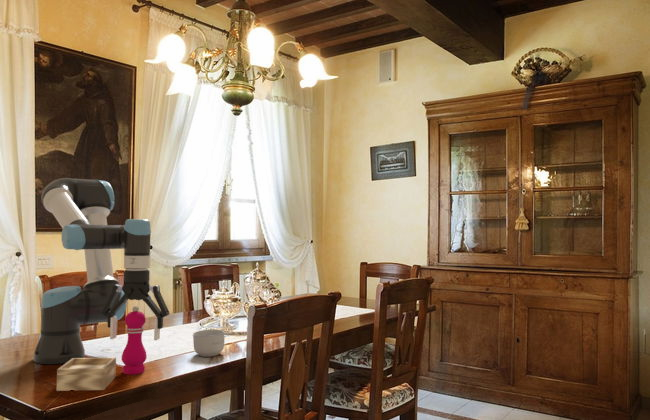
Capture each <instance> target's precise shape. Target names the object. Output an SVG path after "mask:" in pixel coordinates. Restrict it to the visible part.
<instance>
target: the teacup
mask: <svg viewBox="0 0 650 420" xmlns="http://www.w3.org/2000/svg"><path fill="white" fill-rule="evenodd" d="M192 339H193V341H192V342H193V343H192V344H193V350H194V352H195V353H196V354H197V355H199V356H200V357H203V358H204V357H205V358H208V357H209V358H210V357H211V358H212V357H216V356H218V355H219V354H220V353H221V352H222V351H223V350H224V349H225V330H223V329H215V328H211V329H203V330H198V331H195V332H193V333H192Z"/></svg>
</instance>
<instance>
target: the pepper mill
mask: <svg viewBox="0 0 650 420" xmlns="http://www.w3.org/2000/svg"><path fill="white" fill-rule="evenodd" d="M125 315H126V316H125V317H124V324H125V325H126V326H127V327H125V328H126V330H125V331H126V334H127V343H126V344H125V345H126V346H125V347H124V349H123V351H122V354H121V362H122V363H123V364H124V365H123V367H122V373H123V374H124V375H129V376H130V375H132V376H133V375H139V374H140V375H141V374H143V373H144V372H145V371H146V370H145V369H146V365H145V364H144V363H145V361H146V360H147V351H146V349H145V346H144V345H143V340H142V338H143V337H142V336H143V335H142V334H143V332H144V329H145V327H144V324H145V323H146V321H147V320H146V315H145V313H143V312H142V311H139V307H138V305H135V306H133V307H132V311H130V312H128V313H127V314H125Z"/></svg>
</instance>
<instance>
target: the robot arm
mask: <svg viewBox="0 0 650 420" xmlns="http://www.w3.org/2000/svg"><path fill="white" fill-rule="evenodd" d="M114 192H115V191H114V190H113V187H112V185H111V184H110V182H108V181H106V180H100V179H85V178H84V179H83V178H70V177H62V178H57V179H54V180H53V181H51V182H50V183H48V184H47V185H46V186H45V187H44V188H43V190H42V193H41V203H42V205H43V207H44V208H45V210H46V211H48V212H49V213H51V214H52V215H53V216H54V218H55V220H56V221H57V222H58V224H59V225H60V227H61V228H62V231H61V242H62V243H61V244H62V247H63V248H64V249H65V250H74V251H75V250H76V251H79V250H82V251H83V250H84V260H85V267H86V276H87V278H86V279H87V282H85V283H84V285H83V289H82V287H81V286H80V285H69V286H60V287H56V288H52V289H48V290H46V291H45V292H44V293H43V294H42V298H41V303H40V304H41V305H40V308H41V310H40V311H41V312H40V334H39V335H40V336H39V340H38V343H37V344H36V347H35V350H34V353H33V362H34V363H36V364H40V365H60V364H65V363H67V362H68V361H69V360H71V359H72V358H85V353H86V352H85V347H84V344H83V341H82V337H81V335H80V334H81V333H80V331H81V329H80V328H81V326H83V325H91V324H100V323H107V327H108V328H109V329H110V332H109V340H114V339H116V338H117V329H118V328H117V327H118V321H119V320H121V319H122V318H123V317H124V315H125V313H126V309H127V306H128V300H129V301H134V300H136V301H141V300H142V301H143V302H144V303H145V304H146V305H147V306H148V307H149V309H150V310H151V312H152V313H153V314H154V315H155V316H156V318H154V325H153V326H154V330H153V332H154V333H153V335H154V336H153V341H158V340H159V339H160V338H161V330H162V329H163V327H164V318H165V317H167V316H169V315H170V311H169V308H168V307H167V304H166V301H165V299H164V297H163V295H162V294H161V289H160V288H161V287H160V285H158V284H156V285H153V286H152V285H150V270H149V268H150V266H151V264H150V263H151V233H152V230H151V229H152V228H151V221H150V220H149V219H146V218H145V219H140V218H138V219H136V218H130V219H129V218H128V219H126V220H125V222H124V224H123V225H122V224H118V225H117V224H116V225H115V224H113V225H112V224H108V221H107V217H108V216H110V214H111V211H112V210H113V209H114V208H115V207H114V206H115V194H114ZM111 250H123V252H124V253H123V268H124V269H125V270H124V271H123V278H122V279H123V280H122V281H123V284H122V285H120V281H119V280H118V279H117V278H115V277H114V269H113V261H112V260H113V259H112V253H111ZM150 291H151V293H152V294H153V297H154V298H155V301H156V302H157V303H155V302H154V300H153V299H152V296H151V295H150V294H149V292H150Z"/></svg>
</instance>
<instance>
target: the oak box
mask: <svg viewBox="0 0 650 420" xmlns="http://www.w3.org/2000/svg"><path fill="white" fill-rule="evenodd" d="M116 369H117V357H84V358H72V359H71V360H69V361H68V362H67V363H63V365H60V367H58V368H57V369H56V392H60V391H61V392H63V391H65V392H67V391H70V390H74V391H104V390H106V388H107V387H108V386H109V385H110V384H111V383H112V382H113V380H114V379H115V378H116V375H117V374H116V371H117V370H116Z"/></svg>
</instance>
